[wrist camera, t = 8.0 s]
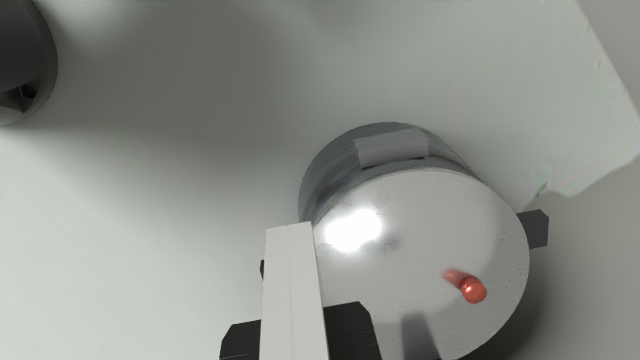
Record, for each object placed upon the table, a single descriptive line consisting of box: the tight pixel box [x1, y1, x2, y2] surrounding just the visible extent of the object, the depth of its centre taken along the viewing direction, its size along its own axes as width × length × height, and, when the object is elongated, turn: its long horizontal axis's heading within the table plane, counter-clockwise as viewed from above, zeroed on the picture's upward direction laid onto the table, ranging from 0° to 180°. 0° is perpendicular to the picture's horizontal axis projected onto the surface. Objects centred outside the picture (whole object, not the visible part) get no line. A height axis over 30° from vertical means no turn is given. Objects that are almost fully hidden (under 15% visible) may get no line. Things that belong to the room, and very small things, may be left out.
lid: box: [312, 167, 530, 360], centre depth 40 cm, size 21×28×3 cm
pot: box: [260, 122, 549, 279], centre depth 45 cm, size 28×22×12 cm
